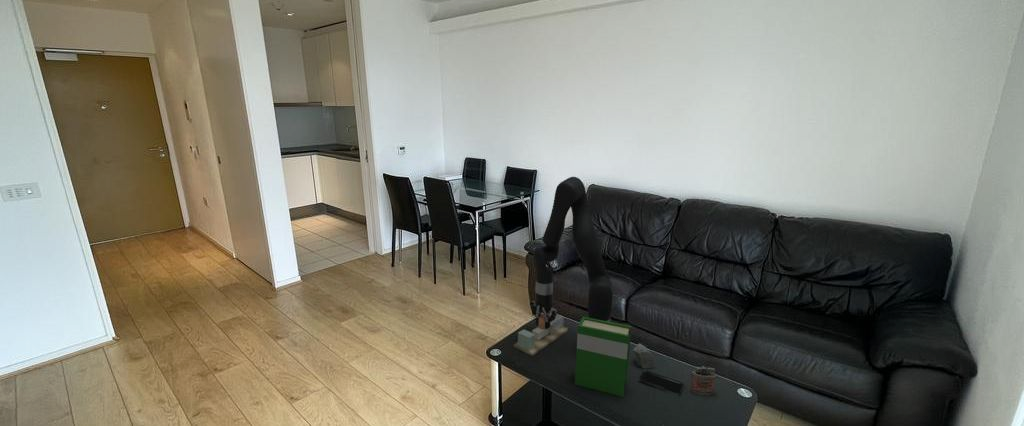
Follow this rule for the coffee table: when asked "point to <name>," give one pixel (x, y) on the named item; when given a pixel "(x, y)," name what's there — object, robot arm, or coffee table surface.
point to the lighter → (703, 381)
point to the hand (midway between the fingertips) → (543, 326)
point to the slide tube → (541, 328)
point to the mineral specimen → (643, 356)
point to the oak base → (543, 342)
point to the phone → (661, 383)
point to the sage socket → (526, 340)
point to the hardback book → (602, 355)
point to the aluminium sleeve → (556, 324)
